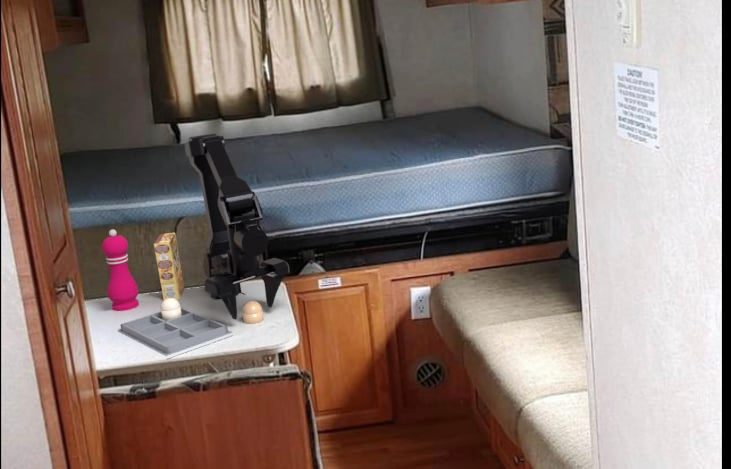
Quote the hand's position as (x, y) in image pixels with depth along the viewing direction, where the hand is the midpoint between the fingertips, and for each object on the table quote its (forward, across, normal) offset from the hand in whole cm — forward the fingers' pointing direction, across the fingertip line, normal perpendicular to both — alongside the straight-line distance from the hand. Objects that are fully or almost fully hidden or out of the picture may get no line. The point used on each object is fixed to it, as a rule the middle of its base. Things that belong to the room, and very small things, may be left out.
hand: (252, 313), depth 211 cm
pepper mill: (+3, +14, -35) cm, 38 cm away
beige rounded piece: (+2, 0, 0) cm, 3 cm away
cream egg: (+2, +12, -16) cm, 20 cm away
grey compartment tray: (+2, +15, -9) cm, 18 cm away
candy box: (+3, +2, -33) cm, 33 cm away
